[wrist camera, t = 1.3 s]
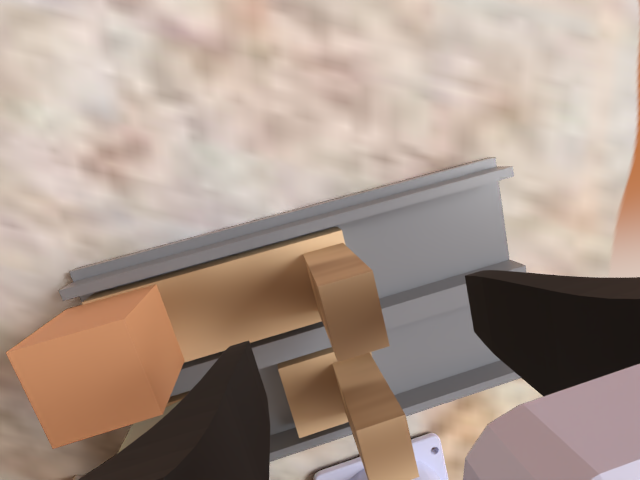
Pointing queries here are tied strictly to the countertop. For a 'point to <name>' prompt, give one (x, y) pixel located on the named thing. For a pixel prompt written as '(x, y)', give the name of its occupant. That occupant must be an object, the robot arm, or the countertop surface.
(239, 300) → the oak strip
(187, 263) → the lane board
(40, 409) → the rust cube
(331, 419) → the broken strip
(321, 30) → the countertop surface
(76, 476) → the food container
